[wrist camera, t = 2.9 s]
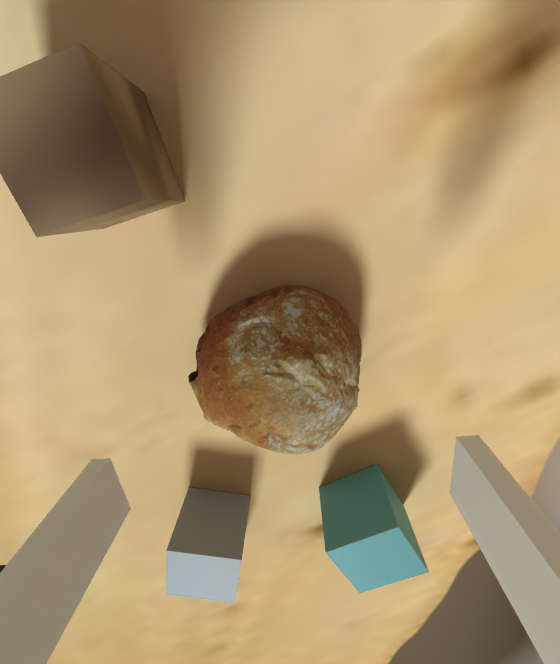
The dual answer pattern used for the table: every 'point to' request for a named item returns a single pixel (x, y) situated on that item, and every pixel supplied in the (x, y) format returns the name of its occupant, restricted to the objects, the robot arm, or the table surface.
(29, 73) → the walnut block
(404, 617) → the table surface
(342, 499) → the dark teal block
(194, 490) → the slate grey block
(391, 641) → the table surface
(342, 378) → the bread roll
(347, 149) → the table surface
